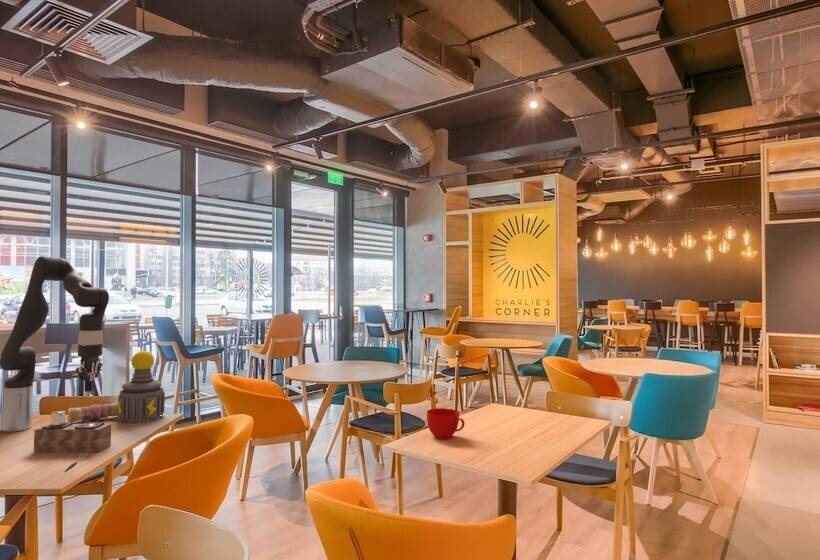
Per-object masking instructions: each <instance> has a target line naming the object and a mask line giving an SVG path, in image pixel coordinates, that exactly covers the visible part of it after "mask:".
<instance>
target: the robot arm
mask: <svg viewBox="0 0 820 560" xmlns="http://www.w3.org/2000/svg"><path fill="white" fill-rule="evenodd" d="M30 274H31V275H30V279H29V283H28V286H27V289H26V292H25V294H24V295H25V296H24V297H23V298H24V299H23V301H22V303H21V305H20V308H19V310H18V313H17V316H16V320H15V322H14V326H13V327H12V330H11V332H10V334H9V337H8V339H7V341H6V343H5V344H4V346H3V349H2V351H1V353H0V368H1V370H2V371H8V372H11V371H18V372H17V373H16V374H15V375H14V376H12V377H10V378H7V379H6V380H5V381H4V386H3V387H4V390H3V406H1V407H0V431H1V432H7V433H9V432H20V431H25V430H28V429H31V428H32V415H33V414H32V413H33V411H32V410H33V389H34V387H33V385H34V384H33V382H34V379H35V375H36V374H35V373H36V372H35V369H36V365H37V364H36V363H37V361H36V360H37V355H36V354H37V353H36V351H35V349H34V348H33V347H32V346H23V345H24V343H25V342H26V341H27V340H28V339H29V338H31V337H32V336H33V335H35V334H36V333H37V332H38V331H39V330H40V329H41V328H42V327H43V326H44V324H45V322H46V321H47V318H48V317H47V316H48V315H49V312H50V311H49V310H50V309H49V304H48V302H47V300H46V298H45V295H44V293H43V285H44V283H45V282H44V281H49V282H50V281H51V282H52V281H53V282H54V281H55V282H61V281H62V285H63V289H64V291H66V292H67V293H68V294H70V296H72V298H73V300H74V303H75V304H76V305H77V306H79V307H81V308H93V309H92V311H90V312H88V313H84V314H82V315H80V316H79V330H78V331H79V333H78V336H77V337H78V339H77V356H78V358H81V360H80V366H79V367H76V368H75V371H76V373H77V375H78V377H79V379H80V381H83V382H84V392H87V393H89V392H93V391H94V381H95V380H96V379H97V378H98V376H99V374H100V371H101V369H102V367H103V362H99V360H100V359H99V357H101V356H103V347H104V346H103V340H104V338H103V336H104V335H103V322H104V321H103V319H104V316H105V313H106V309H107V307H108V304H109V300H110V294H109V292H108V290H107V289H106V288H104V287H93V286H92V284H91V283H90V282H89V281H87V280H86V279H84V277H82V276H81V275H80V274H79V273H78V272H77V271H76V269H75V268H74V267H73V265H72V264H71V263H70V262H69V261H68V260H67V259H65V258H63V257H54V256H45V255H44V256H39V257H37V259H36V260H35V262H34V264H33V267H32V270H31V273H30Z"/></svg>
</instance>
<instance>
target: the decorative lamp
mask: <svg viewBox="0 0 820 560" xmlns="http://www.w3.org/2000/svg"><path fill="white" fill-rule="evenodd" d="M130 364H131V367H132V368H133V370H134V371H133V374H132V377H131V380H130V381H127V382H125V383H123V384H122V385H121V387H122V389H121V390H119V395H118V396H117V397H118V398H117V402H118V405H117V407H118V416H117V418H118V420H119V421H120V422H121V423H125V422H128V423H129V424H138V423H139V422H141V423H148V422H147V421H149V422H152V421H151V420H154V421H157V420H159V419H158V418H160V419H162V418H163V416H164V413H165V402H166V397H165V395H166V394H165V391H164V388H163V387H162V381H159V380H157V379H154V377H153V373H152V367H153V366H154V364H155V357H154V355H153V354H152V353H151V352H150V351H147V350H141V351H138V352H136V353H135V354H134V355H132V357H131V363H130ZM160 415H163V416H160ZM156 419H157V420H156ZM139 424H140V423H139Z"/></svg>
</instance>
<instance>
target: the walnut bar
mask: <svg viewBox="0 0 820 560" xmlns="http://www.w3.org/2000/svg"><path fill="white" fill-rule="evenodd" d="M85 424H96V425H95V426H93V427H83V425H85ZM33 433H34V434H33V453H34V452H41V454H43V453H44V454H45V453H46V452H72V453H73V454H74V453H75V452H76V453H78V454H80V453H81V454H87V453H89V454H90V453H91V454H92V453H93V452H94V453H97V452H98V453H101V452H102V451H104V450H106V449H108V448H109V447H111V445H112V444H111V443H112V423H105V422H84V423H74V422H71V423H68V422H65V425H63V426H61V427H51V423H47V424H45V425H43V426H40V427H38V428H35V429H34V432H33ZM85 452H86V453H85ZM46 454H47V453H46Z"/></svg>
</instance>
